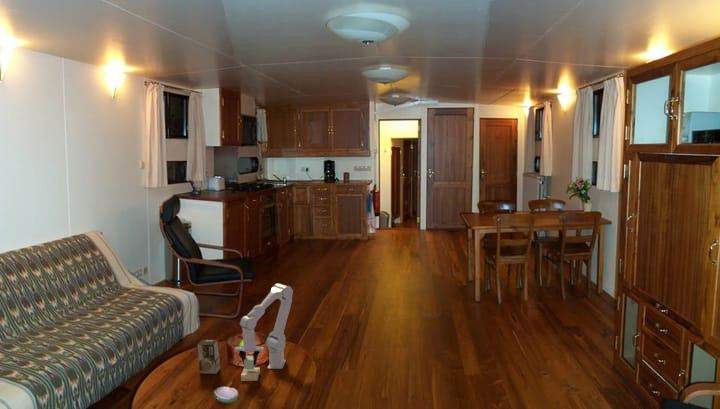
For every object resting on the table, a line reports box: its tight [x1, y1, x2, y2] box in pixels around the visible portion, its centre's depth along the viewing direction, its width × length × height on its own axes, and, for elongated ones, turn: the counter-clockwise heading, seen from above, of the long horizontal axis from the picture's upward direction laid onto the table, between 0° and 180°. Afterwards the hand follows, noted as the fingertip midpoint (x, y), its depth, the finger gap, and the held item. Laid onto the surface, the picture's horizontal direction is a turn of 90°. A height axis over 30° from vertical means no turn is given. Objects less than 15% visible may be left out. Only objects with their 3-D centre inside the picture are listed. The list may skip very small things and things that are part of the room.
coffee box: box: [197, 339, 221, 375], centre depth 263 cm, size 9×6×16 cm
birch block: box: [240, 366, 261, 382], centre depth 256 cm, size 8×8×4 cm
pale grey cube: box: [243, 355, 257, 370], centre depth 255 cm, size 5×5×5 cm
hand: (250, 364), depth 255 cm, fingers closed on pale grey cube, 5 cm apart
